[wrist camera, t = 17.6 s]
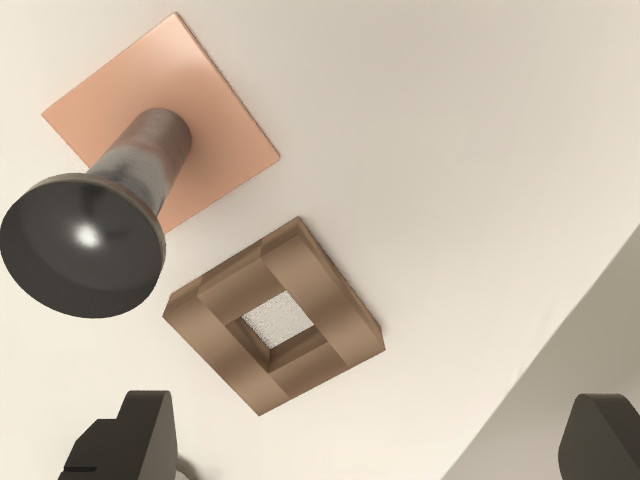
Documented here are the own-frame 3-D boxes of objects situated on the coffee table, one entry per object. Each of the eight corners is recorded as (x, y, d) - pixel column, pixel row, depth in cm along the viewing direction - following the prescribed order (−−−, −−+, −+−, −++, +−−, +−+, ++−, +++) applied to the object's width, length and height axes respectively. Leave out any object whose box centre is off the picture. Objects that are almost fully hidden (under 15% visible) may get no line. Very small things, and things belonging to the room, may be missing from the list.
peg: (90, 126, 35) (-36, 240, 22) (164, 68, 33) (78, 153, 20) (158, 199, 38) (83, 341, 24) (229, 149, 36) (191, 271, 23)
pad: (45, 111, 35) (40, 114, 35) (176, 11, 33) (173, 13, 32) (157, 235, 40) (154, 240, 39) (279, 156, 37) (279, 159, 37)
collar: (170, 294, 42) (162, 316, 39) (298, 216, 39) (298, 234, 37) (261, 390, 47) (259, 416, 44) (380, 326, 44) (385, 350, 42)
